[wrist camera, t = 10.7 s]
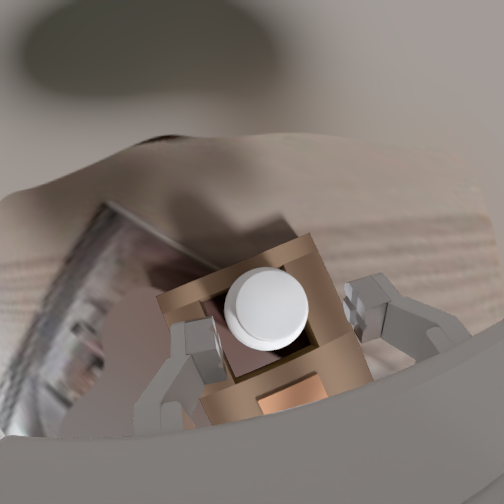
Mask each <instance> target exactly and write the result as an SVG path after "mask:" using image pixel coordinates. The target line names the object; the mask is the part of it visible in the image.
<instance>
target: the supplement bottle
mask: <svg viewBox="0 0 504 504" xmlns="http://www.w3.org/2000/svg"><path fill="white" fill-rule="evenodd" d="M224 315H225V320H226V323H227V325H228V328H229V330H230V331H231V333H232V334H233V335H234V336H235V338H236V339H237V340H239V341H240V342H241V343H242V344H244V345H246V346H248V347H250V348H253V349H256V350H261V351H271V350H277V349H280V348H283V347H285V346H287V345H289V344H290V343H292V342H293V341H294V340H295V339H296V338H297V337H298V336H299V335H300V333H301V332H302V330H303V328H304V326H305V324H306V321H307V318H308V300H307V296H306V294H305V291H304V289H303V287H302V286H301V284H300V283H299V282H298V281H297V280H296V279H295V278H294V277H293V276H292V275H290V274H289V273H287V272H285V271H283V270H280V269H277V268H272V267H261V268H256V269H252V270H250V271H248V272H246V273H244V274H243V275H241V276H240V277H239V278H238V279H237V280H236V281H235V282H234V283H233V284H232V286H231V288H230V289H229V291H228V294H227V296H226V299H225V305H224Z"/></svg>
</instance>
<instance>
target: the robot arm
mask: <svg viewBox="0 0 504 504" xmlns="http://www.w3.org/2000/svg"><path fill="white" fill-rule="evenodd" d="M344 292H345V293H346V295H347V296H346V297H345V299H344V303H343V307H344V312H345V315H346V318H347V320H348V322H349V323H350V324H352V325H354V326H355V327H354V332H355V334H356V335H357V337H358V339H359V341H360V342H361V343H364V342H368V341H371V340H374V339H377V338H380V337H381V339H383V340H385V341H386V342H388V343H389V344H391V345H393V346H394V347H396V348H398V349H399V350H401V351H402V352H404V353H406V354H407V355H409V356H411V357H412V358H414V359H415V360H416V362H415V364H414V365H413V366H410V367H408V368H406V369H403V370H401V371H399V372H396V373H394V374H391V375H389V376H386V377H384V378H381V379H379V380H376V381H373V382H371V383H368V384H365V385H363V386H360V387H357V388H354V389H351V390H348V391H345V392H343V393H340V394H336V395H333V396H330V397H327V398H324V399H321V400H317V401H314V402H311V403H307V404H304V405H300V406H297V407H293V408H289V409H286V410H282V411H278V412H274V413H270V414H266V415H261V416H257V417H253V418H248V419H244V420H239V421H234V422H229V423H224V424H218V425H213V426H207V427H201V428H196V426H195V425H194V423H193V422H192V420H191V419H190V417H191V415H192V413H193V411H194V409H195V407H196V405H197V403H198V400H199V398H200V396H201V394H202V392H203V390H204V388H205V385H207V384H211V383H216V382H220V381H225V380H228V379H227V374H226V368H225V364H224V361H223V358H222V357H223V351H222V346H221V342H220V338H219V335H218V332H217V331H216V327H215V322H214V319H213V316H207V317H202V318H197V319H192V320H186V321H183V322H177V323H172V324H171V327H170V336H171V358H168V359H167V360H166V361H165V362H164V364H163V365H162V366H161V368H160V369H159V371H158V372H157V374H156V375H155V377H154V378H153V379H152V381H151V382H150V384H149V385H148V386H147V388H146V389H145V391H144V392H143V394H142V395H141V397H140V398H139V400H138V401H137V402H136V404H135V405H134V427H133V436H123V437H103V438H43V437H26V436H16V435H8V436H5V437H3V438H2V439H1V440H0V504H504V319H503V320H501V321H499V322H498V323H496V324H494V325H492V326H491V327H489V328H487V329H485V330H484V331H482V332H480V333H478V334H476V335H474V336H473V337H472V335H471V334H470V333H469V332H468V331H467V329H466V328H465V327H464V326H463V324H462V323H461V322H460V321H459V320H458V318H457V317H456V316H453V315H451V314H448V313H446V312H443V311H441V310H439V309H436V308H434V307H431V306H429V305H426V304H424V303H421V302H419V301H416V300H414V299H411V298H409V297H407V296H406V297H403V296H402V295H401V294H400V293H399V292H398V290H397V289H396V288H395V287H394V286H393V284H392V283H391V282H390V281H389V280H388V278H387V277H386V276H385V275H384V274H383V273H381V272H380V273H377V274H373V275H370V276H367V277H364V278H360V279H357V280H353V281H350V282H346V283H345V286H344Z"/></svg>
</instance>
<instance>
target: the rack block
mask: <svg viewBox="0 0 504 504" xmlns="http://www.w3.org/2000/svg"><path fill="white" fill-rule="evenodd" d="M261 267H272V268H277V269H280V270H283V271H285V272H287V273H289V274H290V275H292V276H293V277H294V278H295V279H296V280H297V281H298V282H299V283H300V284H301V286H302V287H303V289H304V291H305V294H306V296H307V300H308V318H307V321H306V324H305V326H304V329H305V332H306V334H307V336H308V339H309V341H310V343H311V345H309V346H307V347H305V348H303V349H301V350H299V351H297V352H294V353H292V354H290V355H288V356H286V357H283V358H281V359H279V360H277V361H275V362H272V363H270V364H268V365H266V366H263V367H261V368H258V369H256V370H254V371H251V372H249V373H246V374H244V375H242V376H239V377H237V378H235V376H234V373H233V371H232V369H231V367H230V364H229V362H228V360H227V358H226V355H225V353H224V351H223V349H222V351H223V357H222V358H223V361H224V364H225V368H226V374H227V379H228V380H225V381H220V382H216V383H211V384H207V385H205V388H204V390H203V392H202V394H201V396H200V398H199V399H200V401H201V404H202V406H203V407H204V410H205V412H206V414H207V416H208V418H209V420H210V422H211V424H212V426H213V425H218V424H224V423H229V422H234V421H239V420H244V419H248V418H253V417H257V416H261V415H266V414H270V413H274V412H278V411H282V410H286V409H289V408H293V407H297V406H300V405H304V404H307V403H311V402H314V401H317V400H321V399H324V398H327V397H330V396H333V395H336V394H340V393H343V392H345V391H348V390H351V389H354V388H357V387H360V386H363V385H365V384H368V383H371V382H373V381H374V380H373V378H372V375H371V373H370V370H369V368H368V365H367V363H366V360H365V358H364V355H363V353H362V350H361V348H360V345H359V343H358V341H357V338H356V336H355V333H354V331H353V329H352V326H351V324H350V323H349V322H348V320H347V318H346V315H345V312H344V308H343V305H342V303H341V301H340V298H339V296H338V294H337V292H336V289H335V287H334V285H333V283H332V280H331V278H330V276H329V274H328V272H327V269H326V267H325V265H324V263H323V261H322V258H321V256H320V254H319V252H318V250H317V248H316V246H315V244H314V241H313V239H312V237H311V235H310V233H308V234H305V235H303V236H301V237H298V238H296V239H293V240H291V241H289V242H286V243H284V244H281V245H279V246H277V247H274V248H272V249H269V250H267V251H264V252H262V253H260V254H257V255H255V256H252V257H250V258H248V259H245V260H243V261H240V262H238V263H236V264H233V265H231V266H228V267H226V268H223V269H221V270H219V271H216V272H214V273H211V274H209V275H207V276H204V277H202V278H199V279H197V280H194V281H192V282H190V283H187V284H185V285H182V286H180V287H177V288H175V289H173V290H170V291H168V292H165V293H163V294H160V295H158V296H156V298H157V301H158V303H159V306H160V308H161V311H162V314H163V316H164V319H165V321H166V324H167V326H168V329H169V331H170V327H171V324H172V323H177V322H183V321H186V320H192V319H197V318H202V317H207V316H208V314H207V311H206V309H205V306H204V304H203V302H205V301H208V300H210V299H212V298H215V297H217V296H220V295H222V294H225V293H227V292H228V291H229V289H230V288H231V286H232V284H233V283H234V282H235V281H236V280H237V279H238V278H239V277H240V276H241V275H243V274H244V273H246V272H248V271H250V270H252V269H256V268H261Z"/></svg>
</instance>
